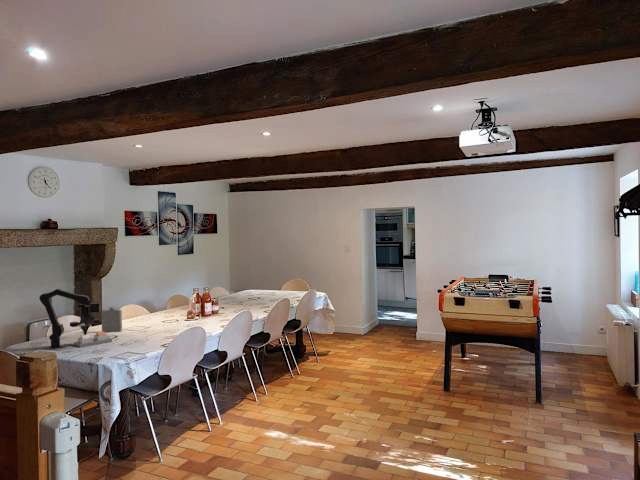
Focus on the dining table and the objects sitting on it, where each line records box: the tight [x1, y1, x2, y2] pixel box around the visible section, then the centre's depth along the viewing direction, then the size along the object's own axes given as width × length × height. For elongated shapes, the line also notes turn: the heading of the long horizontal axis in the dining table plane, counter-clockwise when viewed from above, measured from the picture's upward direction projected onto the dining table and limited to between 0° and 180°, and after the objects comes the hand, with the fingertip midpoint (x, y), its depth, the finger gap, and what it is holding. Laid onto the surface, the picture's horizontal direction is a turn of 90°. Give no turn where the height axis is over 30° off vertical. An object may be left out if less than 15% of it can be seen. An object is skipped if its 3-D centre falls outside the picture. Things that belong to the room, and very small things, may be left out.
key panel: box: [73, 333, 113, 348], centre depth 328 cm, size 12×22×5 cm, turn 137°
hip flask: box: [101, 306, 123, 333], centre depth 367 cm, size 16×4×20 cm, turn 93°
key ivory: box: [79, 333, 91, 339], centre depth 324 cm, size 5×5×3 cm
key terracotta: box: [95, 331, 107, 336], centre depth 332 cm, size 5×5×3 cm
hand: (85, 334), depth 324 cm, fingers closed
